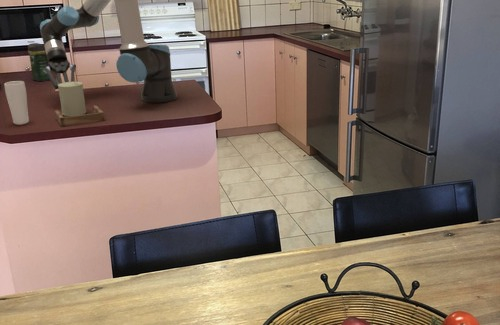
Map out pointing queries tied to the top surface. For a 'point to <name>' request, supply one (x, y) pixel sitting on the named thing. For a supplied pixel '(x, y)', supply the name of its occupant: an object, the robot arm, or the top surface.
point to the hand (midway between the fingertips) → (68, 101)
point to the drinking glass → (17, 101)
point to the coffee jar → (38, 61)
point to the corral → (80, 117)
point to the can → (72, 98)
